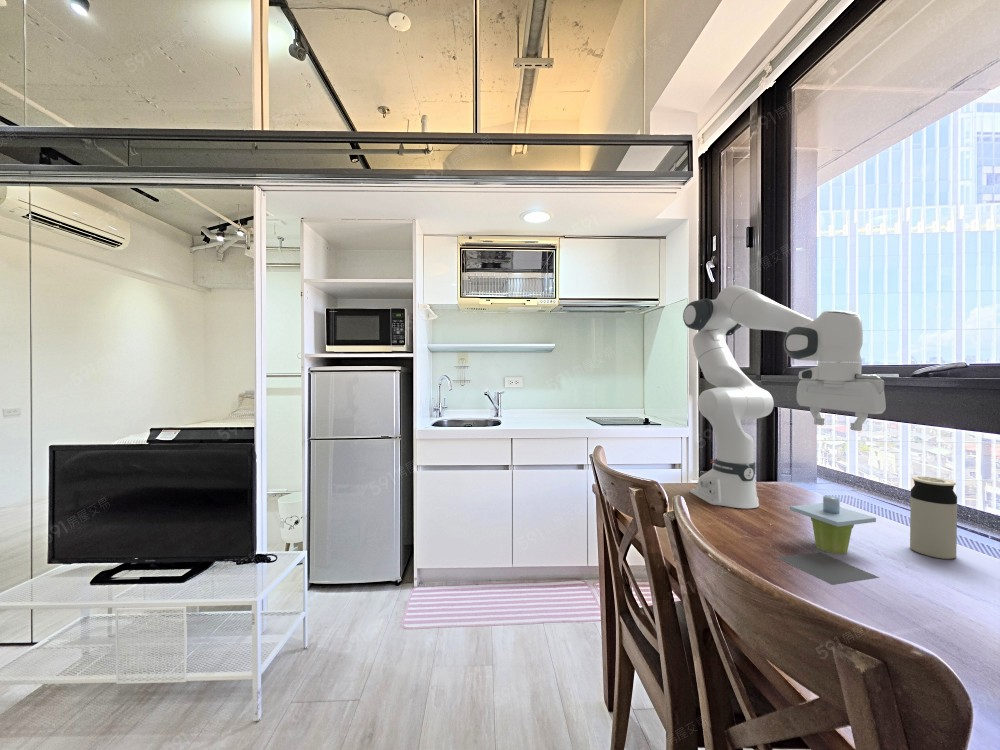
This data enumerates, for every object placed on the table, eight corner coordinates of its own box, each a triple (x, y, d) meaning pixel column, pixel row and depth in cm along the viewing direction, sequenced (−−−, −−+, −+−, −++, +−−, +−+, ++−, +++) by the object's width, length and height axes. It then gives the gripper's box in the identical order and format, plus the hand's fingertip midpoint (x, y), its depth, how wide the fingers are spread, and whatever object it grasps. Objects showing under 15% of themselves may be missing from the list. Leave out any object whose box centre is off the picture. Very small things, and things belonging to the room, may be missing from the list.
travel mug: (920, 556, 102) (921, 482, 102) (903, 544, 109) (904, 474, 109) (964, 562, 99) (965, 485, 99) (943, 549, 106) (944, 477, 106)
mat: (776, 560, 100) (776, 557, 100) (819, 554, 103) (819, 551, 103) (832, 587, 87) (832, 584, 87) (879, 580, 90) (879, 577, 90)
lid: (789, 510, 109) (790, 492, 109) (825, 506, 113) (825, 489, 113) (837, 526, 98) (838, 507, 98) (875, 521, 101) (876, 503, 101)
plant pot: (865, 560, 100) (865, 524, 100) (820, 557, 102) (820, 521, 101) (841, 544, 109) (842, 511, 109) (800, 541, 111) (801, 508, 111)
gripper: (894, 375, 99) (891, 433, 100) (811, 372, 119) (809, 421, 119) (873, 375, 98) (871, 434, 98) (793, 372, 117) (791, 422, 118)
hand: (836, 427), depth 109 cm, fingers open, 8 cm apart
